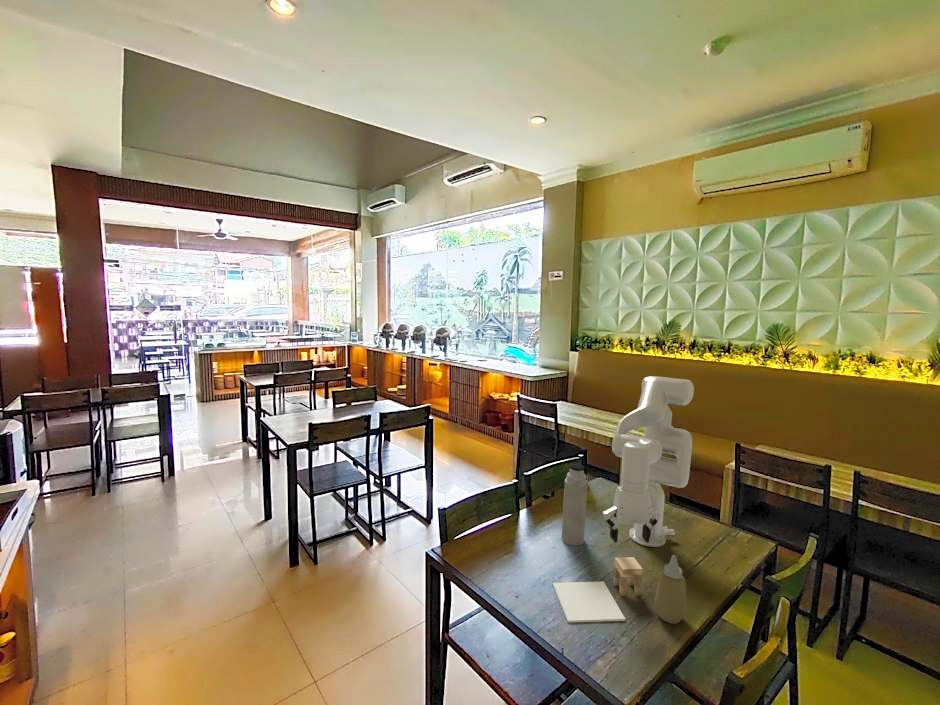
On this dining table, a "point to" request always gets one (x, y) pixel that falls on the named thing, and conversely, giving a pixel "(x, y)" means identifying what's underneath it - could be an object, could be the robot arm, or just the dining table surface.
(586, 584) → the mat
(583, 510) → the thermos bottle
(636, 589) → the stool
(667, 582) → the squeeze bottle
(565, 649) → the dining table surface
